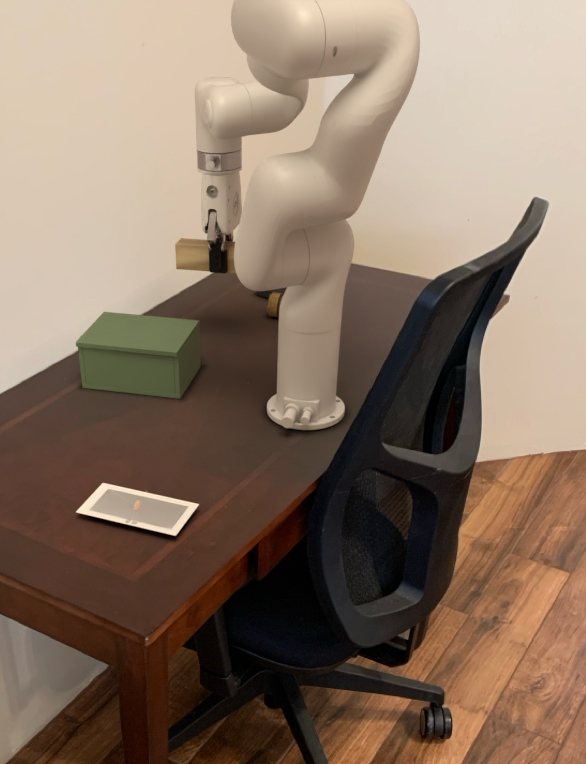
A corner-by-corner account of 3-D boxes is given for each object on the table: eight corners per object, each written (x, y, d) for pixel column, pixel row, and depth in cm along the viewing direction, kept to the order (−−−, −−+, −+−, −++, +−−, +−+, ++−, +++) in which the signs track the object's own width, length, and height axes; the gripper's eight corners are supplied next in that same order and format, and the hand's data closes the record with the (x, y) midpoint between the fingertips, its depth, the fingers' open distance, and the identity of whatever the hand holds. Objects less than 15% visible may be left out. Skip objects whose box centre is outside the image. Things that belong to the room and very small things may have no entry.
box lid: (177, 357, 145) (177, 352, 145) (76, 346, 149) (75, 342, 149) (199, 324, 155) (199, 320, 155) (104, 316, 159) (103, 311, 159)
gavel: (300, 267, 190) (346, 272, 187) (298, 288, 192) (344, 294, 189) (267, 296, 174) (317, 302, 170) (266, 319, 176) (315, 326, 173)
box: (180, 398, 150) (178, 355, 146) (82, 387, 154) (77, 345, 150) (200, 366, 160) (199, 325, 156) (108, 356, 164) (104, 316, 159)
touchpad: (103, 489, 129) (102, 476, 128) (199, 510, 124) (199, 497, 123) (76, 518, 123) (74, 505, 122) (176, 542, 118) (175, 529, 117)
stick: (262, 275, 158) (262, 249, 155) (176, 269, 162) (174, 244, 159) (267, 268, 161) (267, 243, 158) (182, 262, 164) (180, 238, 162)
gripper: (228, 173, 143) (229, 286, 154) (253, 149, 156) (252, 255, 167) (183, 171, 145) (188, 282, 156) (211, 148, 158) (214, 252, 169)
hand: (221, 267), depth 161 cm, fingers closed on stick, 3 cm apart
